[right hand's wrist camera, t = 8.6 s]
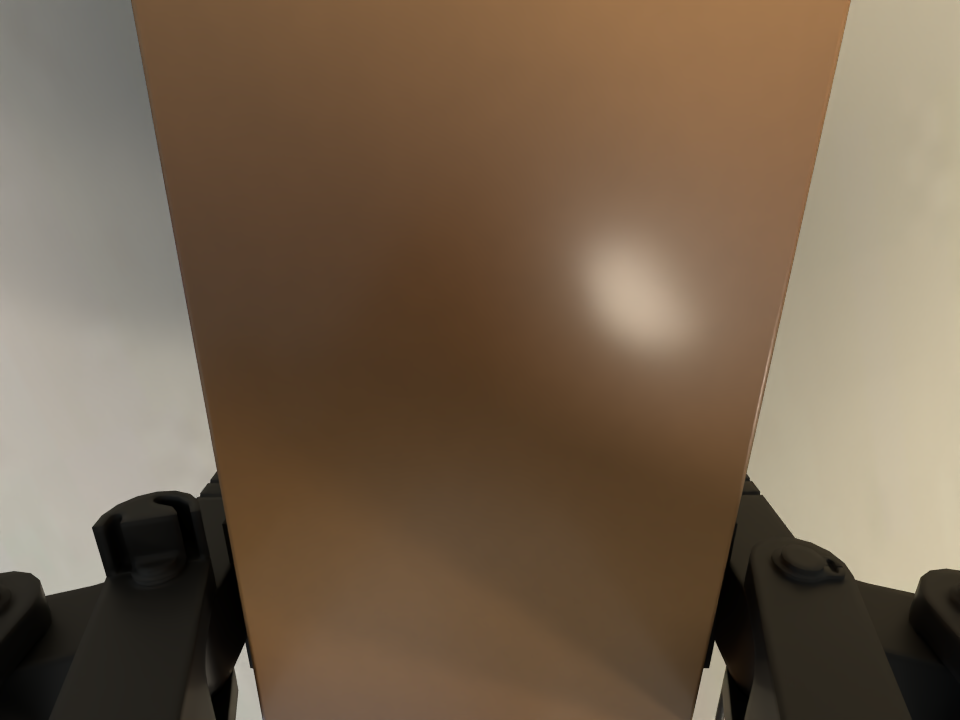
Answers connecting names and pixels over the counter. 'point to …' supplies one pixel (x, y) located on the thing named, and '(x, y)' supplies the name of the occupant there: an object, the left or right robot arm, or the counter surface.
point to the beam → (484, 329)
